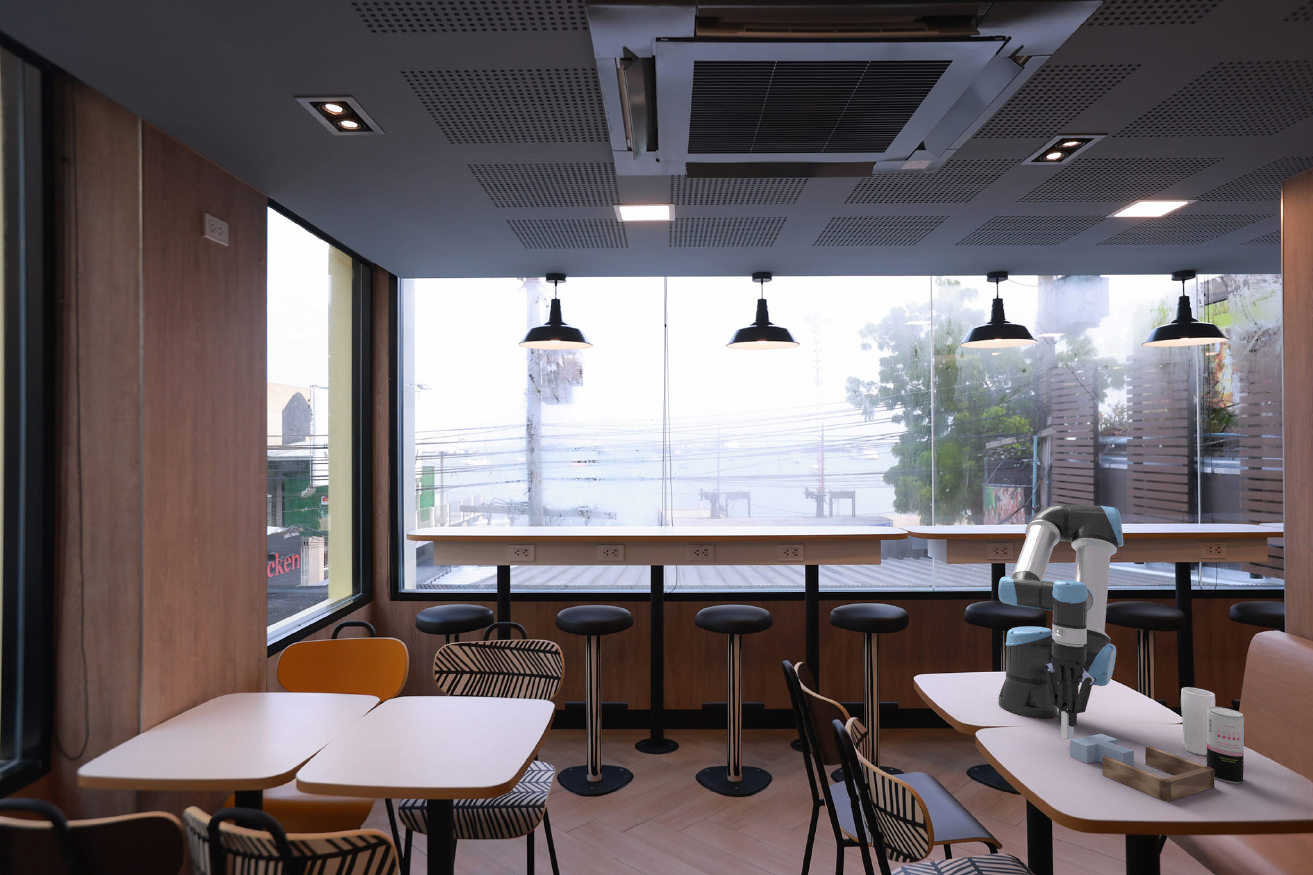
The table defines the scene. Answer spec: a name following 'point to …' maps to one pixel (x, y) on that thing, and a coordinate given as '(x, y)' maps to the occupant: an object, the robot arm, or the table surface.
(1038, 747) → the table surface
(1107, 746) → the tee block
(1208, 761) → the beverage can
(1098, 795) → the table surface
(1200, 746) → the white paper cup
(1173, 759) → the walnut corral
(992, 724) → the table surface
